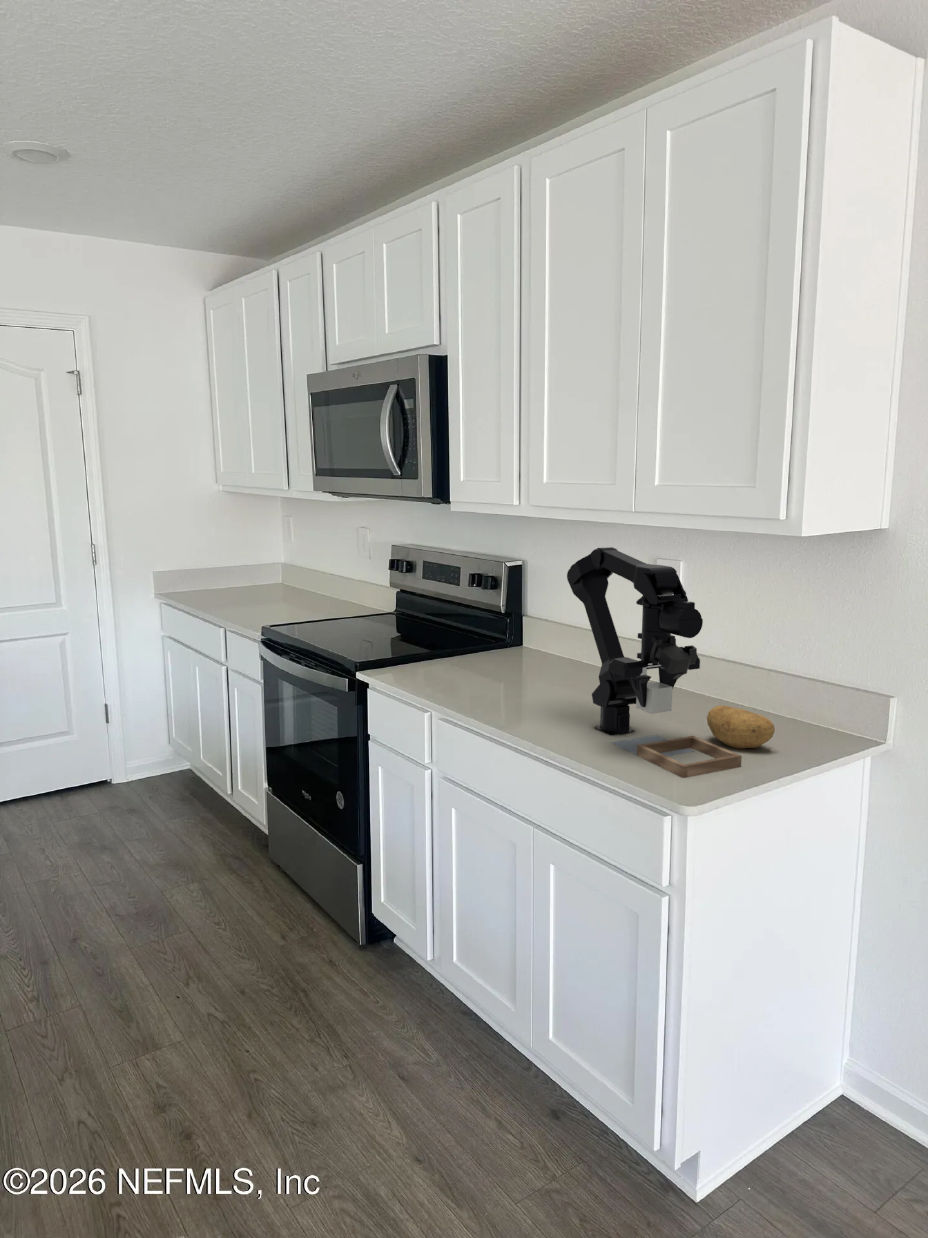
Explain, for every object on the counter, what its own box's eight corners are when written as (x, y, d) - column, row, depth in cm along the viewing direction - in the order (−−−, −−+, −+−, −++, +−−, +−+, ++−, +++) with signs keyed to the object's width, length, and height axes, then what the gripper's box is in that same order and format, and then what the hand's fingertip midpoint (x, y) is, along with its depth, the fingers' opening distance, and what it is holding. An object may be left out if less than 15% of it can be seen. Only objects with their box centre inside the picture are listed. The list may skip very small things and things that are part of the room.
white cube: (636, 707, 177) (636, 684, 176) (655, 704, 179) (656, 681, 178) (651, 713, 172) (652, 689, 171) (671, 710, 174) (672, 686, 173)
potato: (758, 761, 170) (761, 721, 168) (696, 744, 180) (698, 707, 179) (783, 750, 176) (785, 712, 175) (721, 734, 187) (723, 698, 185)
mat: (610, 744, 180) (610, 742, 180) (656, 736, 185) (656, 734, 185) (645, 761, 169) (646, 759, 169) (694, 753, 174) (694, 751, 174)
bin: (636, 757, 172) (637, 745, 171) (692, 747, 178) (692, 735, 177) (682, 779, 159) (683, 766, 159) (740, 768, 165) (741, 756, 165)
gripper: (643, 640, 162) (640, 721, 164) (720, 632, 170) (716, 709, 172) (608, 630, 171) (606, 707, 174) (683, 623, 179) (680, 696, 182)
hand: (653, 705), depth 175 cm, fingers closed on white cube, 5 cm apart
